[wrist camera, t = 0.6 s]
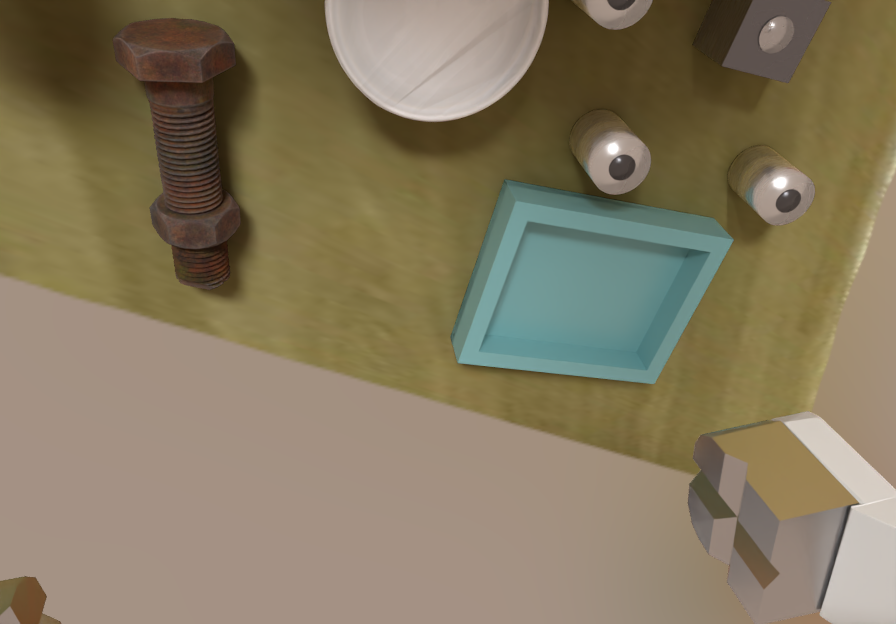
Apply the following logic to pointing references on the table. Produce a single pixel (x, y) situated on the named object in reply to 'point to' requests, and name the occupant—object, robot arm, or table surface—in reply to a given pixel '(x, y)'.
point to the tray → (584, 284)
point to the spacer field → (628, 159)
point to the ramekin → (435, 51)
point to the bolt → (185, 139)
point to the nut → (760, 34)
